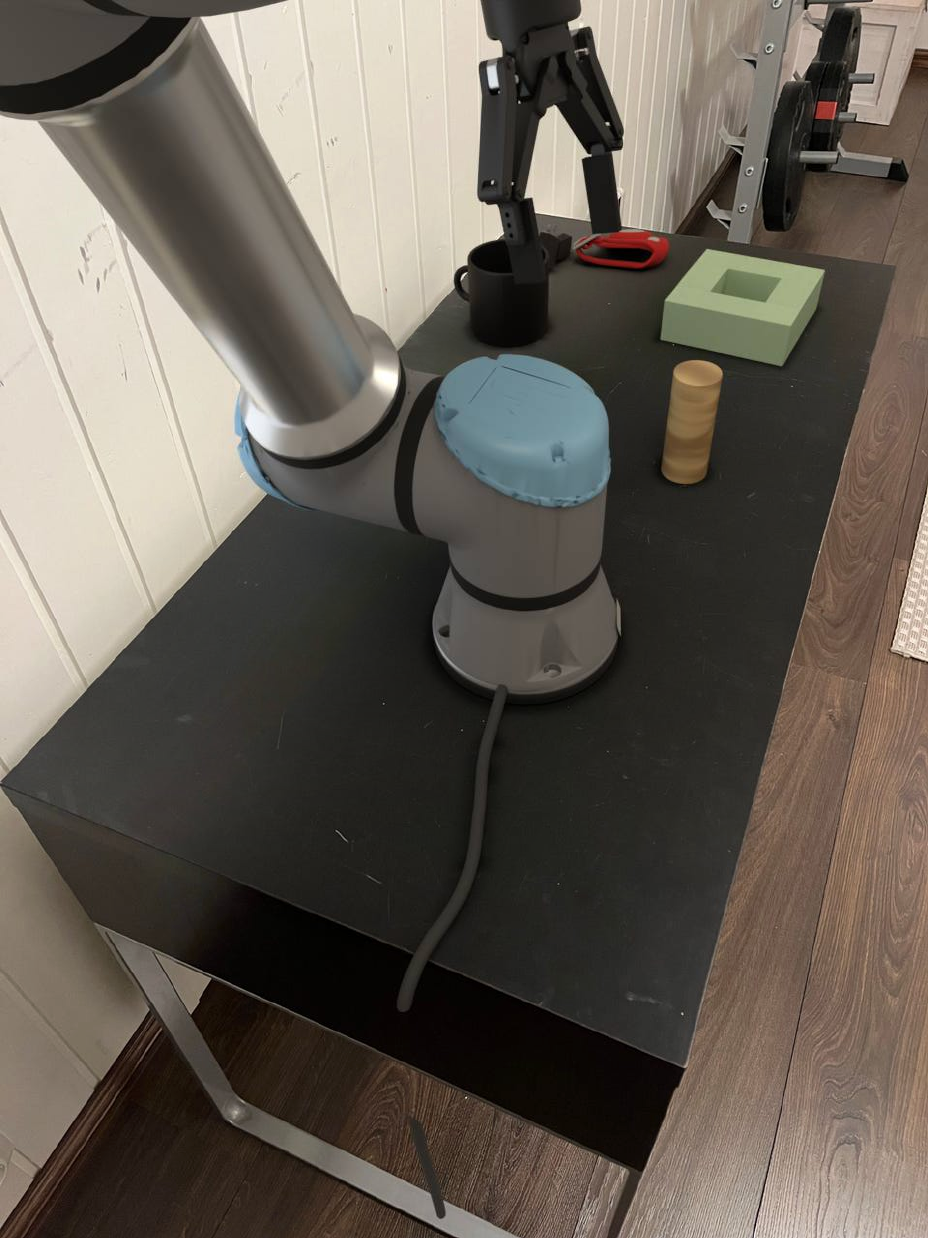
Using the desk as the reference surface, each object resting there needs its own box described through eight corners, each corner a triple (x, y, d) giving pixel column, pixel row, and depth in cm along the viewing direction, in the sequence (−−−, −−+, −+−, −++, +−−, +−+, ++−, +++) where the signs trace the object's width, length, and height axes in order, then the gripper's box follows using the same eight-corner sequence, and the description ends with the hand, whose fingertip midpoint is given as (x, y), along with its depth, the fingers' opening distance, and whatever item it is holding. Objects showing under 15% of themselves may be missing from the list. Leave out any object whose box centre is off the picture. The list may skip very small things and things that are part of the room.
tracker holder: (629, 225, 130) (685, 229, 123) (627, 259, 132) (682, 265, 125) (564, 230, 124) (620, 234, 116) (563, 266, 126) (617, 272, 118)
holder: (782, 366, 105) (790, 325, 102) (660, 339, 111) (664, 299, 107) (816, 309, 114) (825, 269, 110) (701, 287, 119) (706, 248, 116)
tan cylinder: (697, 489, 91) (713, 389, 83) (654, 477, 93) (666, 378, 85) (712, 464, 94) (729, 365, 86) (670, 453, 95) (683, 355, 87)
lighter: (551, 272, 129) (561, 232, 127) (564, 275, 128) (575, 235, 126) (527, 261, 122) (538, 219, 120) (541, 264, 121) (552, 222, 120)
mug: (473, 300, 120) (470, 229, 113) (560, 317, 116) (562, 245, 109) (438, 334, 114) (432, 262, 108) (528, 354, 110) (528, 280, 103)
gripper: (473, -17, 62) (533, 304, 73) (643, -62, 77) (670, 210, 88) (388, 7, 66) (456, 307, 77) (564, -40, 81) (600, 216, 93)
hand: (571, 256), depth 83 cm, fingers open, 13 cm apart
